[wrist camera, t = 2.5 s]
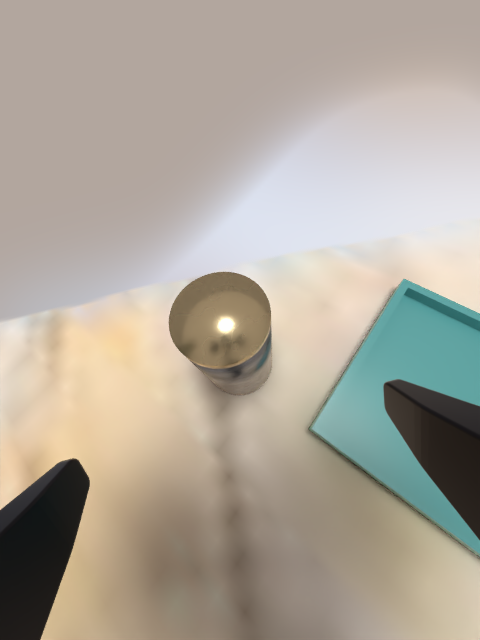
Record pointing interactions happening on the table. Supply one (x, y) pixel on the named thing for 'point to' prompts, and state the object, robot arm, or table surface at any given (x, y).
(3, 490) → the table surface
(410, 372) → the teal tray
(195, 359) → the grey tin
